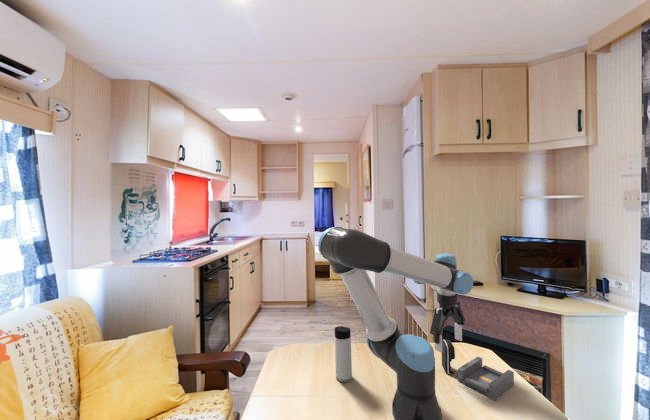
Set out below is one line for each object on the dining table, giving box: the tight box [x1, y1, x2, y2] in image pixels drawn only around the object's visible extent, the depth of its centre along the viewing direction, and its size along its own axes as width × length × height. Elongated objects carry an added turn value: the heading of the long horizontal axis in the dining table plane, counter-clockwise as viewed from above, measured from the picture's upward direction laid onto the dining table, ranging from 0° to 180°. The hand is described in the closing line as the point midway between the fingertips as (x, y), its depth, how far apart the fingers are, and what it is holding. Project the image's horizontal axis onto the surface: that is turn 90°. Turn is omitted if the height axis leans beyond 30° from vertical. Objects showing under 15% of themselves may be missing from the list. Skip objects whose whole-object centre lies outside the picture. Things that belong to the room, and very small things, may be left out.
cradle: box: [457, 356, 515, 402], centre depth 105 cm, size 14×13×5 cm
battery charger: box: [441, 338, 456, 375], centre depth 114 cm, size 7×4×11 cm, turn 171°
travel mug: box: [334, 325, 353, 383], centre depth 111 cm, size 6×7×20 cm
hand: (448, 345), depth 114 cm, fingers open, 13 cm apart
